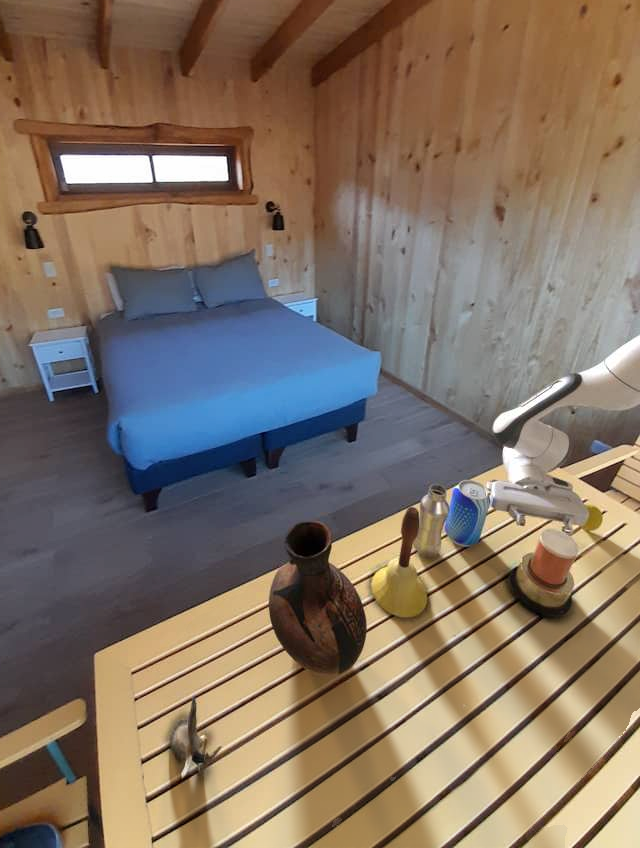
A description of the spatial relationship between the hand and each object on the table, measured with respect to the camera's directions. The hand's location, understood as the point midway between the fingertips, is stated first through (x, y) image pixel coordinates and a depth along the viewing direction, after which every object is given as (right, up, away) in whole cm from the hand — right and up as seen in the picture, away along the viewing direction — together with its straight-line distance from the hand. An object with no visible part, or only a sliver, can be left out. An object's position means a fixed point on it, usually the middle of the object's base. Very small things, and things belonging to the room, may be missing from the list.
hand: (544, 528), depth 91 cm
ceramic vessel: (-53, -20, -9) cm, 57 cm away
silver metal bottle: (-23, -10, +10) cm, 27 cm away
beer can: (-13, -8, +14) cm, 20 cm away
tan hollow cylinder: (-2, -14, -1) cm, 14 cm away
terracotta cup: (-2, -8, -4) cm, 9 cm away
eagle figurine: (-75, -28, -23) cm, 83 cm away
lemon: (+20, -6, +15) cm, 26 cm away
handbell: (-33, -15, +1) cm, 36 cm away
